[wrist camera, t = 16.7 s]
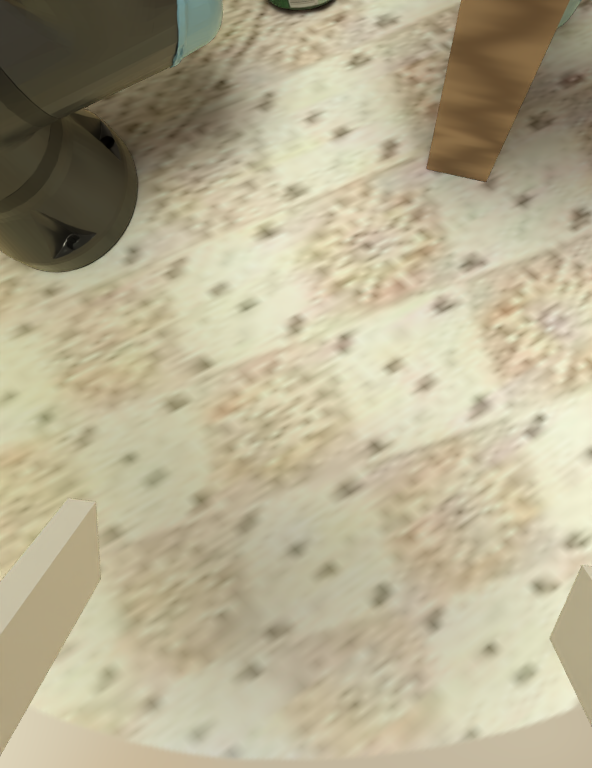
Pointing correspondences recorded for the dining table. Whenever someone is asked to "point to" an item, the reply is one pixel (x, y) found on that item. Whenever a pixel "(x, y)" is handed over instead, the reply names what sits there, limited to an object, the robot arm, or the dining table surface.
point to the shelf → (489, 80)
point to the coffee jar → (299, 4)
